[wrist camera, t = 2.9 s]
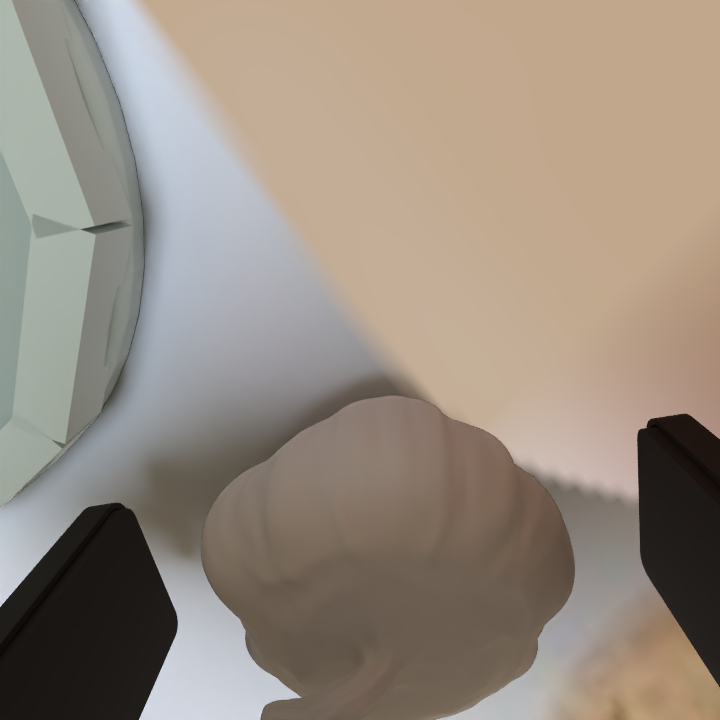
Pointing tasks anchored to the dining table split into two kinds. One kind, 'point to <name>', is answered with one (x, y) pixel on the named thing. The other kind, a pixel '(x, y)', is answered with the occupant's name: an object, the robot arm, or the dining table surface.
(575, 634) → the dining table surface
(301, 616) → the garlic
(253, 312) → the dining table surface
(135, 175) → the plate
